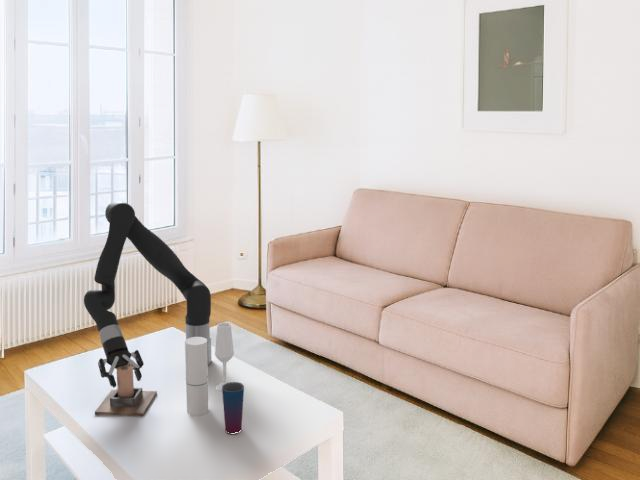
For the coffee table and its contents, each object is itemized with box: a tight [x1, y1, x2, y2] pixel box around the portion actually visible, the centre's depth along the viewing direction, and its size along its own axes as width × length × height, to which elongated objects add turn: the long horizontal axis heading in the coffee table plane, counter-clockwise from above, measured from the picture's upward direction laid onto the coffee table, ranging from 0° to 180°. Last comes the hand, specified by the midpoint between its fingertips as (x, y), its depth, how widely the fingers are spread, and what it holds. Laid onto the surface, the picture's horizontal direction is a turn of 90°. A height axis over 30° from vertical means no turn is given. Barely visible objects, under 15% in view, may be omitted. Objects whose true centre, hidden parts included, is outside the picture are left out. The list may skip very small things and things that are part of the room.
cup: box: [221, 381, 245, 433], centre depth 199 cm, size 7×7×15 cm
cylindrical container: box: [184, 337, 210, 417], centre depth 209 cm, size 7×7×25 cm
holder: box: [94, 387, 158, 417], centre depth 215 cm, size 16×16×4 cm
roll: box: [116, 365, 135, 398], centre depth 214 cm, size 5×5×12 cm
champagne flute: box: [214, 322, 235, 391], centre depth 227 cm, size 7×7×24 cm
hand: (127, 383), depth 213 cm, fingers open, 8 cm apart
